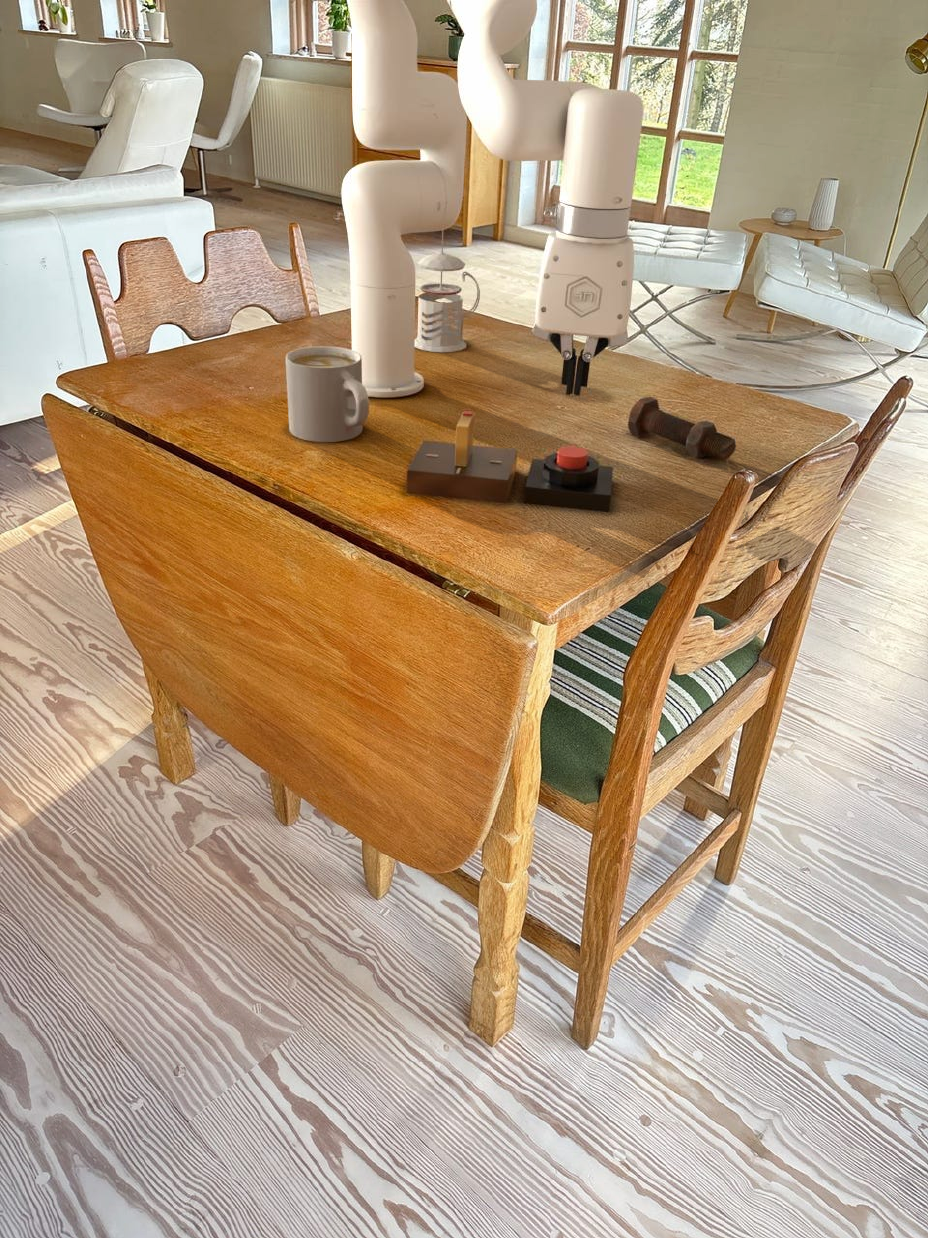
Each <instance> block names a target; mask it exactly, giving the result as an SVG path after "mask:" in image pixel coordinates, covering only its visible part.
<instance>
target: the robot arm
mask: <svg viewBox="0 0 928 1238" xmlns="http://www.w3.org/2000/svg"><path fill="white" fill-rule="evenodd" d="M446 2H447V4H448V5H449V7H450V9H451V11H452V13H453V15H454V17H455V19H456V21H457V23H458V25H459V27H460V28H461V31H462V32H463V35H464V36H463V38H462V40H461V44H460V48H459V51H458V56H457V57H458V58H457V81H456V80H455V79H454V78H452V76H450V75H448V74H445V73H443V72H439V71H419V70H418V45H419V43H418V41H419V40H418V39H419V38H418V31H417V27H416V24H415V21H414V19H413V17H412V14H411V12H410V10H409V8H408V6H407V4H406V2H405V1H404V0H346V3H347V7H348V12H349V18H350V26H351V40H352V41H351V78H352V80H351V87H352V88H351V89H352V90H351V91H352V93H351V95H352V97H351V98H352V103H351V105H352V123H353V130H354V133H355V136H356V138H357V140H358V142H359V143H360V144H361V145H363V146H365V147H367V148H368V149H372V150H381V151H420V159H413V160H412V159H411V160H410V159H409V160H408V159H407V160H403V159H391V160H389V159H388V160H387V159H386V160H373V161H365V162H362V163H359V164H357V165H355V166H353V167H352V168H351V169H350V170H349V171H348V172H347V173H346V174H345V176H344V178H343V181H342V184H341V204H342V210H343V215H344V219H345V221H344V222H345V225H346V232H347V239H348V248H349V249H348V250H349V271H350V272H349V276H350V281H349V282H350V318H351V319H350V320H351V321H350V325H351V327H350V328H351V350H353V351H355V352H357V353H359V354H360V355H361V358H362V385H363V386H364V387H365V389H366V391H367V394H368V398H369V397H370V398H379V399H381V398H382V399H383V398H384V399H386V398H387V399H388V398H401V397H407V396H412V395H414V394H417V393H419V392H421V391H422V390H423V388H425V387H424V386H425V378H424V376H422V375H421V374H420V373H418V372H416V371H415V349H416V347H415V339H416V336H415V335H416V332H415V331H416V266H415V261H414V259H413V257H412V254H411V253H410V251H409V250H408V248H407V246H406V245H405V243H404V241H403V239H402V235H408V234H416V233H430V232H431V233H432V232H439V231H441V232H442V230H443V231H445V230H448V229H449V228H451V227H452V226H453V225H455V223H456V222H457V221H458V219H459V216H460V214H461V210H462V205H463V198H464V184H465V164H466V150H467V149H466V147H467V132H468V131H467V130H468V119H469V121H470V123H471V126H472V128H473V129H474V130H475V133H476V134H477V136H478V138H479V139H480V141H481V142H482V144H483V145H484V147H485V148H486V149H487V150H488V151H489V152H490V153H491V154H492V155H493V156H495V157H496V158H497V159H500V160H503V161H506V162H541V161H543V162H544V161H545V162H546V161H549V162H561V161H562V167H561V179H560V188H559V189H560V191H559V192H560V193H559V197H558V198H559V199H558V200H559V202H558V203H556V205H555V206H554V205H552V206H551V207H550V206H545V207H544V210H543V211H544V213H543V221H546V222H550V223H552V224H553V226H555V230H554V231H551V232H550V233H549V234H548V237H547V240H546V243H545V247H544V251H543V256H542V261H541V267H540V272H539V281H538V286H537V287H538V288H537V296H536V304H535V315H534V317H535V322H534V325H533V328H532V330H531V333H532V336H533V337H535V338H537V339H541V340H543V341H546V342H550V343H551V344H552V345H553V347H554V348H555V349H556V350H557V352H558V353H559V354H560V355H561V358H562V359H563V362H562V370H561V372H562V373H561V382H560V385H561V386H566V391H565V395H567V396H571V395H574V396H576V397H580V396H581V390H582V387H583V388H588V383H589V375H590V367H591V362H592V361H593V359H594V358H595V357H597V355H599V354H600V353H602V351H604V350H605V349H606V348H613V347H621V346H625V345H627V344H628V342H629V341H628V340H629V335H628V334H629V333H628V325H629V324H628V323H629V319H630V312H631V303H632V293H633V282H634V270H635V268H634V267H635V251H634V250H635V249H634V248H635V247H634V240H633V239H632V238H631V237H629V236H628V233H629V223H630V217H631V209H632V203H633V202H632V201H633V194H634V188H635V187H634V186H635V180H636V172H637V163H638V157H639V150H640V141H641V136H642V135H641V133H642V128H643V120H644V119H643V118H644V109H645V108H644V102H643V99H642V98H641V96H640V95H639V94H637V93H636V92H633V91H629V90H622V89H614V88H613V89H612V88H601V87H599V86H596V85H594V84H592V83H588V82H583V81H567V80H566V81H565V80H564V81H563V80H551V79H550V80H545V79H515V78H514V77H513V76H512V74H511V73H510V71H509V70H508V68H507V66H506V65H505V63H504V60H503V59H502V56H503V55H505V54H507V53H509V52H510V51H511V50H513V49H514V48H515V47H517V46H518V45H519V44H520V43H521V42H522V41H523V40H524V39H525V38H526V36H528V33H530V31H531V29H532V27H533V25H534V22H535V20H536V17H537V12H538V1H537V0H446ZM574 336H581V337H586V340H585V343H584V347H583V349H581V350H580V352H579V355H577V350H576V348H575V347H574Z"/></svg>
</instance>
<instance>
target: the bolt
mask: <svg viewBox="0 0 928 1238" xmlns="http://www.w3.org/2000/svg"><path fill="white" fill-rule="evenodd" d="M627 420H628V421H627V428H628V430H629V433H630V434H631V436H633V437H635V438H637V439H639V438H643V437H645V436H649V435H656V436H658V437H660V438H664V439H667V440H668V441H671V442H674V443H677V444H679V445H682V446H683V447H685V448H686V451H687V454H688V455H689V456H691V457H693V458H696V459H699V458H704V457H706V456H709V457H712V458H714V459H716V460H719V461H722V462H723V461H726V460H728V459H730V458H731V457H732V455H733V454H734V453H735V451H736V448H737V444H736V439H735V438H733V437H732V436H729V435H726V434H724V433H720V432H718V430H717V427H716V425H715V423H714V422H711V421H708V420H702V421H698V422H697V423H694V422H692V421H689V420H686V419H684V418H680V417H678V416H675V415H673V414H670V413H667V412H664V410H661V409H660V405H659V401H658V399H657V398H655V397H652V396H646V397H645V396H644V397H642V398H639V399H638V400H637V401H636V403H634V405H633V406H632V407H631V409H630V411H629V414H628V419H627Z"/></svg>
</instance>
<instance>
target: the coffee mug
mask: <svg viewBox="0 0 928 1238" xmlns="http://www.w3.org/2000/svg"><path fill="white" fill-rule="evenodd" d="M285 371H286V373H285V374H286V375H285V376H286V377H285V378H286V392H287V393H286V394H287V410H288V411H287V412H288V429H289V433H290V434H291V435H292V436H293V437H295V438H297V439H301V440H304V441H308V442H314V443H337V442H344V441H349V440H351V439H354V438H356V437H358V436H359V435H361V434H362V432H363V424H365V422H366V421H367V420H368V417H369V413H370V400H369V396H368V394H367V391H366V389H365V387H364V386H363V385H362V358H361V355H360V354H359V353H357V352H355V351H353V350H352V349H351V348H346V347H339V346H328V345H318V346H306V347H301V348H296V349H294V350H291V351H289V352H287V353H286V354H285Z"/></svg>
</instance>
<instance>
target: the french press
mask: <svg viewBox="0 0 928 1238" xmlns="http://www.w3.org/2000/svg"><path fill="white" fill-rule="evenodd" d="M417 265H418V267H420V268H421V269H424V270H427V271H434V272H440V282H439V283H437V282H433V283H425V284H422V285H421V286H420V287H419V288H420V290H421V291H422V293H421V294H418V299H417V300H418V302H417V305H418V306H417V307H418V308H417V337H415V349H419V350H421V351H426V352H433V353H453V352H459V351H462V350H465V349H466V348H467V343H466V342H465V341H464V340H463V330H464V319H465V318H468V317H469V316H471V315H472V314H474V313H475V311H477V310H476V309H477V308H478V306H479V303H480V298H481V290H480V286H479V284H478V281H477V280H476V278H475V276H473V275H472V274H471V273H469V272H468V271H463V272H462V275H461V279H462V282H465V280H466V276H467V277H469V278H471V279H472V280H473V281H474V283H475V285H476V299H475V302H474V304H473V306H472V308H470V309H469V310H467V311H466V312H463V300H464V299H463V297H462V296H461V295H460V293H461V291H462V287H461V286H459V285H457V284H453V283H443V272H457V271H462V270H463V269H465V267H466V263H465V262H464V261H463V260H462V259H460V257H456V256H454V255H452V254H449V253H445V252H444V230H441V252H439V253H434V254H428V255H426V256H424V257H423V258H421V259H420V260H418V262H417ZM443 299H445V300H449V302H446V301H442V302H441V301H437V300H443ZM448 309H449V310H448ZM450 310H452V311H453V312H452V311H450ZM424 315H426V316H424ZM450 317H451V318H453V319H451V318H450ZM423 322H425V323H423ZM451 325H452V326H451ZM423 329H424V330H423Z"/></svg>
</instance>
